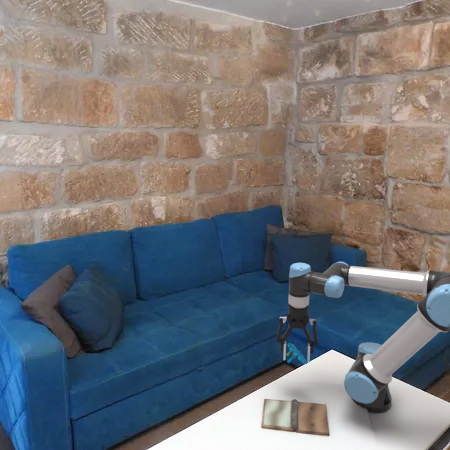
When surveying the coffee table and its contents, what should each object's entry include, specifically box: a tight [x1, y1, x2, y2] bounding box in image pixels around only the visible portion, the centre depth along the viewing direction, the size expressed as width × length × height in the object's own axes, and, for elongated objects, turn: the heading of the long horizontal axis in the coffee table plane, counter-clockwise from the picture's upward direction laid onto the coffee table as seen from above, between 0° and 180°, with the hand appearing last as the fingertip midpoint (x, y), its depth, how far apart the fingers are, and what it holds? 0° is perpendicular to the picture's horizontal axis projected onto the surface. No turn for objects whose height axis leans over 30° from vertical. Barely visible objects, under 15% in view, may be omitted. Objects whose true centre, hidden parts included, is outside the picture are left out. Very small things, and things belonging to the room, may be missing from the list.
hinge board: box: [261, 398, 330, 437], centre depth 157 cm, size 23×16×2 cm
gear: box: [286, 342, 308, 365], centre depth 165 cm, size 11×6×10 cm
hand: (296, 359), depth 166 cm, fingers closed on gear, 8 cm apart
